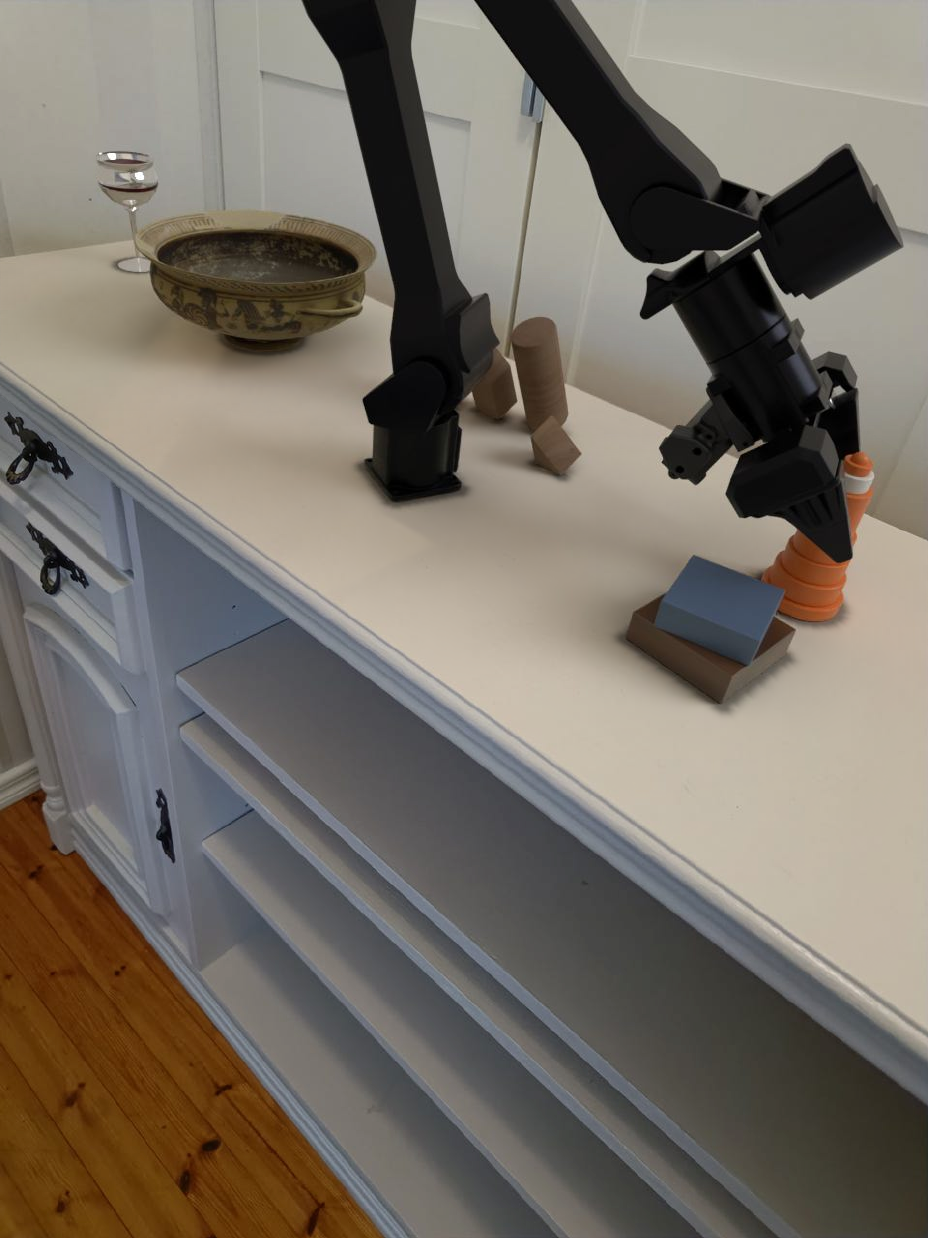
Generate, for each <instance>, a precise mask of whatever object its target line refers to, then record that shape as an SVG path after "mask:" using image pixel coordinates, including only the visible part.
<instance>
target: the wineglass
mask: <svg viewBox="0 0 928 1238" xmlns="http://www.w3.org/2000/svg"><path fill="white" fill-rule="evenodd" d="M93 159H94V160H95V162H96V164H97V167H96V170H95V176H96V180H97V183H98V186H99V188H100V190H101V191H102V193H103V194H104V195H106V196H107V197H108V198H109V199H110V200H111V201H112V202H114V203H116V204H118V205H121V206H123V208H124V210H125V211H128V217H129V223H130V229H131V233H132V239H133V245H134V250H135V251H134V252H135V256H136V257H133V258H128V259H123V260H121V261H119V262H118V264H117V266H118V267H119V269H121V270H123V271H127V272H135V273H145V272H150V263H151V261H150V260H148V259H147V258H143V257H140V256H141V255H140V251H139V250H138V249H137V247H136V244H135V235H136V234H137V232H138V224H137V216H136V215H137V214H136V211H138V210H139V208H140V207H141V206H142V205H144V204H147V203H148V202H149V201H150V200H151V199H152V198H153V196H154V195H155V194H156V192H157V190H158V187H159V177H158V175H157V172H156V170H155V168H154V163H155V161H156V158H155V156H152V155H151V154H149V153H148V154H147V153H145V152H140V151H139V152H138V151H131V150H107V151H101V152H96V153H95V154H94V155H93ZM118 267H117V268H118Z"/></svg>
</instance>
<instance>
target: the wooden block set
mask: <svg viewBox="0 0 928 1238" xmlns="http://www.w3.org/2000/svg"><path fill="white" fill-rule="evenodd" d="M510 342H511V349H512V354H513V358H514V364H515V369H516V375H517V379H518V380H517V381H518V385H519V389H520V395H521V400H522V405H523V409H524V410H523V411H524V415H525V420H526V425H527V427H528V428H529V429H530V430H531V431H533V433H532V434H531V435H530V442H531V447H532V452H533V458H534V463H535V464H536V465H538V466H540V467H542V468H544V469H547V470H549V471H551V472H553V473H555V474H557V475H559V476H563V475H564V473H565V472H566V471H567V470H568V469H569V468H570V467H571V466H572V465H573V464H574V463H575V462H576V461H577V460H578V459H579V458H580V457H581V456H582V452H581V451H580V450H579V448H578V447H577V446H576V444H575V443H574V441H573V440H572V439H571V438H570V436H569V435H568V434H567V433H566V430H565V429H563V427H562V426H564V424H565V423H566V422H567V420H568V416H569V408H568V407H569V406H568V399H567V392H566V386H565V378H564V372H563V364H562V363H563V362H562V355H561V349H560V343H559V336H558V328H557V324H556V323H555V321H554V320H553V319H551V318H549V317H545V316H534V317H530V318H528V319H525V320H523V321H521V322H520V323H519V324H518V325H516V326H515V328H514V329H513V330H512V333H511V334H510ZM471 394H472V398H473V402H474V406H475V409H476V411H478V412H480V413H482V414H484V415H486V416H489V417H491V418H493V419H494V420H495V419H496V420H500V419H502V418H503V416H505V415H506V413H507V412H509V411H510V410H511V409H512V408H513V407H514V406H515V405H516V404H517V403H518V397H517V391H516V386H515V382H514V377H513V372H512V367H511V364H510V363H509V361H508V360H507V359H506V358H505V357H504V355H502V353H501V352H500V351H499V349H498V348H497V347H496V348H495V349H494V350H493V363H492V367H491V368H490V370H489V372H488V374H487V375H486V376H485V378H484V379H483V380H482V381H481V383H480V384H479V385H478V386H477V387H476V388H475V389H474V390H473V391H472V392H471Z"/></svg>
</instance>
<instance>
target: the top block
mask: <svg viewBox="0 0 928 1238" xmlns="http://www.w3.org/2000/svg"><path fill="white" fill-rule="evenodd" d="M666 592H667V593H666ZM666 592H665V593H666V595H665V596H664V598H663V599H662V601H661V603H660V606H659V609H658V613H657V616H656V619H655V622H654V626H655V627H657V628H659V629H662V630H664V631H666V632H669V633H671V634H673V635H676V636H678V637H681V638H683V639H685V640H688V641H690V642H692V643H695V644H697V645H699V646H702V647H704V648H707V649H709V650H711V651H714V652H716V653H718V654H721V655H723V656H725V657H728V658H730V659H733V660H735V661H737V662H740V663H742V664H744V665H747V666H750V664H751V662H752V660H753V658H754V656H755V654H756V652H757V650H758V648H759V646H760V644H761V642H762V640H763V638H764V636H765V634H766V632H767V630H768V628H769V626H770V624H771V622H772V620H773V618H774V616H775V617H776V614H777V613H778V612H777V611H778V610H777V609H778V607H779V605H780V602H781V600H782V598H783V595H784V593H785V590H784V589H781V588H779V587H776V586H773V585H771V584H768V583H766V582H763V581H761V579H759V578H758V579H757V578H755V577H752V576H750V575H747V574H744V573H742V572H740V571H737V570H734V569H732V568H730V567H727V566H724V565H721V564H719V563H716V562H714V561H711V560H709V559H706V558H703V557H701V556H698V555H696V554H693V555H692V556H691V557H690V559H689V560H688V562H687V563H686V564H685V566H684V568H683V569H681V571H680V573H679V574H678V576H677V577H676V579H675V580H674V582H673V583H672V585H671V586H670V587H669V589H668V590H667V591H666Z"/></svg>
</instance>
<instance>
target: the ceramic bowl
mask: <svg viewBox="0 0 928 1238" xmlns="http://www.w3.org/2000/svg"><path fill="white" fill-rule="evenodd" d="M135 244H136V247H137V249H138V250H139V253H141V255H142V256H144V257H145V259H148V260H150V261H151V263H150V271H149V276H150V277H149V279H150V283H151V286H152V290H153V292H154V293H155V294H156V296H157V297H158V299H159V300H160V301H161V302H162V304H164V306H165V307H166V308H168V309H169V310H171V312H173V313H174V314H176V315H177V316H179V317H181V318H182V319H184V320H186V321H187V322H190V323H192V324H194V325H196V326H199V327H201V328H204V329H207V330H209V331H212V332H215V333H218V334H223V337H224V339H225V340H226V342H228V343H229V344H230V345H232V346H234V347H237V348H240V349H242V350H249V351H254V352H256V351H257V352H277V351H282V350H288V349H290V348H293V347H295V346H297V345H298V344H299V343H300V342H301V340H302V338H303V337H306V336H311V335H315V334H318V333H322V332H324V331H326V330H327V331H328V330H329V329H332V328H335V327H336V326H338V325H340V324H342V323H343V322H345V321H347V320H348V319H351V318H355V317H357V316H359V315H360V314H361V313H362V312H363V310H364V306H363V304H362V303H363V301H364V298H365V295H366V290H367V289H366V286H367V280H366V273H365V272H366V271H367V270H369V269H370V268H371V267H372V266H373V265H374V263H375V262H376V260H377V257H378V251H377V248H376V246H375V245H374V243H373V242H372V241H371V240H370V239H369V238H367V237H366V236H365V235H364V234H361V233H359V232H358V231H355V230H353V229H350V228H349V227H346V226H343V225H340V224H338V223H334V222H329V221H326V220H323V219H318V218H314V217H309V216H301V215H297V214H292V213H284V212H278V211H272V210H261V209H221V210H209V211H203V212H195V213H189V214H182V215H175V216H170V217H166V218H162V219H159V220H156V221H152V222H150V223H149V224H147V225H145V226H143V227H142V228H140V229H139V230H137V234H136V235H135Z"/></svg>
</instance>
